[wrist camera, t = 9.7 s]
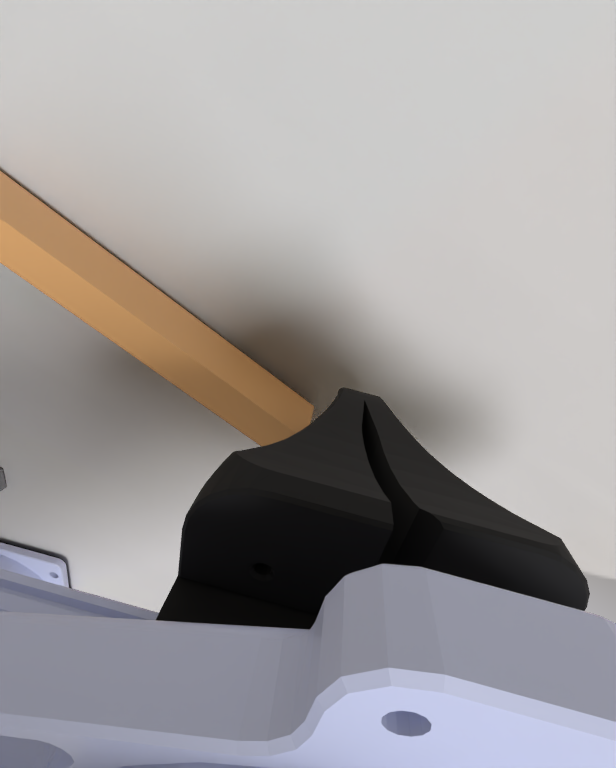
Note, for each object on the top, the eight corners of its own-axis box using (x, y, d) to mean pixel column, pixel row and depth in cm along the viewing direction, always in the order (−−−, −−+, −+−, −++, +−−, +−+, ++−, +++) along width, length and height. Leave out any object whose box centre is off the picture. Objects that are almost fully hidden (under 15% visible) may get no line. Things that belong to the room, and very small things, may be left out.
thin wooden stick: (316, 402, 14) (305, 451, 11) (295, 425, 14) (278, 478, 11) (-54, 123, 11) (-198, 90, 8) (-62, 165, 12) (-200, 147, 9)
